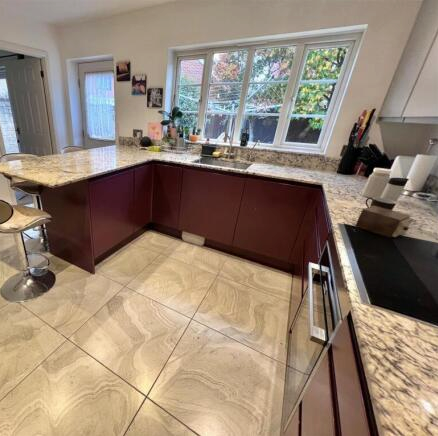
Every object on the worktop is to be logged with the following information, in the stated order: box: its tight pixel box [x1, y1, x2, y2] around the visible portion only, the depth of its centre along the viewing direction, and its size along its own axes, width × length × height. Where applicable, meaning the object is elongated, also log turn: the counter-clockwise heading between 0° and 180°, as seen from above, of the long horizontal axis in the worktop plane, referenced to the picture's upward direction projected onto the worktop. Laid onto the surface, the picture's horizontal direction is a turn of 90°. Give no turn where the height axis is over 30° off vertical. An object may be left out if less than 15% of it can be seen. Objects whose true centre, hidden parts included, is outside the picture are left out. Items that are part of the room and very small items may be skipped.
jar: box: [361, 167, 393, 199], centre depth 147 cm, size 10×10×18 cm
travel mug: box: [381, 177, 410, 211], centre depth 118 cm, size 6×7×20 cm
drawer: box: [392, 217, 413, 238], centre depth 102 cm, size 13×10×7 cm
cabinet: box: [354, 205, 411, 239], centre depth 104 cm, size 13×12×9 cm
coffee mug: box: [365, 197, 398, 210], centre depth 116 cm, size 12×9×10 cm
